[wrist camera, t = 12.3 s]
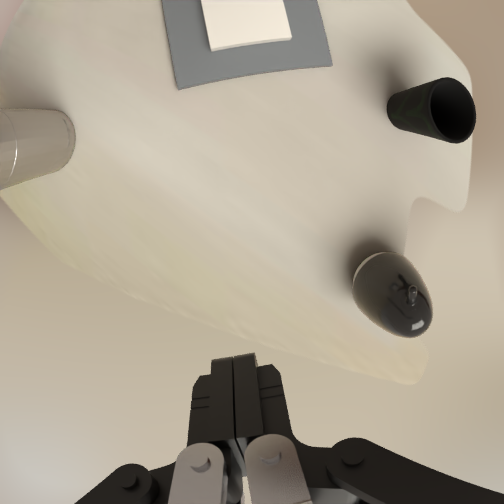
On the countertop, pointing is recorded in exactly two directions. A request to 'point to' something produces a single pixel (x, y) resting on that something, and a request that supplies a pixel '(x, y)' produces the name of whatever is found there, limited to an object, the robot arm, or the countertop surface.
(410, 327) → the pump dispenser
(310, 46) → the mat
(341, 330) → the countertop surface
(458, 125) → the cup
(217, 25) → the tile
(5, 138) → the robot arm
